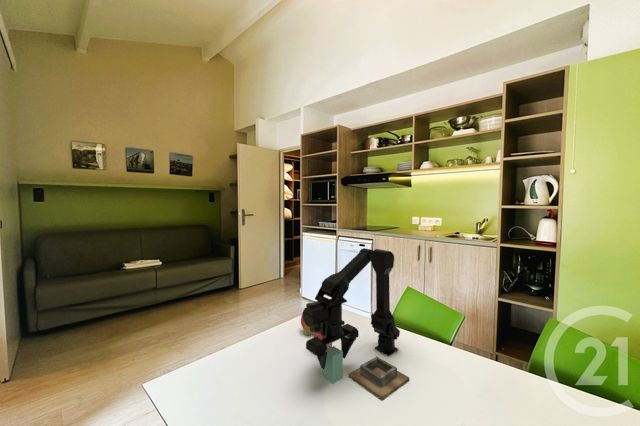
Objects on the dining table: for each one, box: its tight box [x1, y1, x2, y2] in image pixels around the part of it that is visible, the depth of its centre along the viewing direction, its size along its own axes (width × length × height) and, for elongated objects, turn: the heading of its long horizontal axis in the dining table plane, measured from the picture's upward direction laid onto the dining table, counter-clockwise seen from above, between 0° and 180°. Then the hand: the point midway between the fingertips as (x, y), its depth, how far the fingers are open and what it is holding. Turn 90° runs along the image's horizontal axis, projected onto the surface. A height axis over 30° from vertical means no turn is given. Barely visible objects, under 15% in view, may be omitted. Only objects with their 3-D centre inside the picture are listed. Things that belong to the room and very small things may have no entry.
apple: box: [300, 312, 313, 335], centre depth 122 cm, size 10×10×10 cm
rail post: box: [323, 345, 344, 384], centre depth 91 cm, size 4×4×9 cm
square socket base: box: [347, 356, 410, 401], centre depth 91 cm, size 14×14×4 cm
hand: (333, 363), depth 91 cm, fingers open, 9 cm apart
